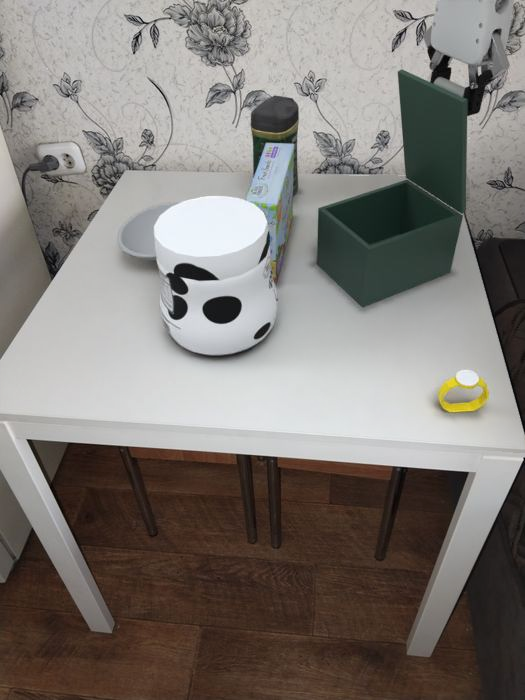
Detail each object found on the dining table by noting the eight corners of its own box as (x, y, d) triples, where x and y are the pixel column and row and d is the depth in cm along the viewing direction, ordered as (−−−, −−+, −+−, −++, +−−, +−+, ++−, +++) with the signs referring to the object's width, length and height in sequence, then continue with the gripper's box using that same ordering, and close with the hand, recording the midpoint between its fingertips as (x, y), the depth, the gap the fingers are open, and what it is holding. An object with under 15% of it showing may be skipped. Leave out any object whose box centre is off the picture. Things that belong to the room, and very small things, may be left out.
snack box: (280, 286, 97) (278, 204, 86) (246, 283, 98) (241, 202, 87) (295, 217, 112) (295, 141, 101) (265, 216, 113) (263, 140, 102)
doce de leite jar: (296, 307, 93) (297, 205, 80) (245, 381, 82) (237, 276, 69) (201, 281, 99) (188, 182, 86) (142, 346, 88) (117, 243, 75)
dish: (177, 288, 97) (173, 263, 94) (104, 270, 102) (98, 246, 98) (223, 233, 109) (221, 209, 105) (156, 219, 113) (152, 196, 110)
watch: (479, 400, 78) (490, 368, 74) (485, 416, 76) (496, 384, 72) (433, 401, 78) (441, 369, 74) (438, 417, 76) (446, 385, 72)
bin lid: (462, 102, 76) (493, 84, 77) (397, 71, 85) (425, 56, 86) (461, 214, 90) (487, 198, 91) (405, 177, 99) (429, 163, 99)
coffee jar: (285, 211, 114) (284, 115, 101) (248, 203, 116) (242, 109, 103) (303, 187, 120) (305, 94, 107) (268, 181, 123) (265, 89, 110)
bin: (362, 307, 92) (368, 249, 85) (316, 263, 101) (318, 207, 93) (450, 272, 98) (463, 215, 90) (399, 234, 107) (407, 179, 99)
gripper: (559, -32, 68) (516, 121, 81) (457, -57, 79) (433, 81, 92) (511, -22, 66) (474, 134, 78) (412, -50, 77) (394, 91, 89)
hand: (452, 104), depth 85 cm, fingers closed on bin lid, 6 cm apart
